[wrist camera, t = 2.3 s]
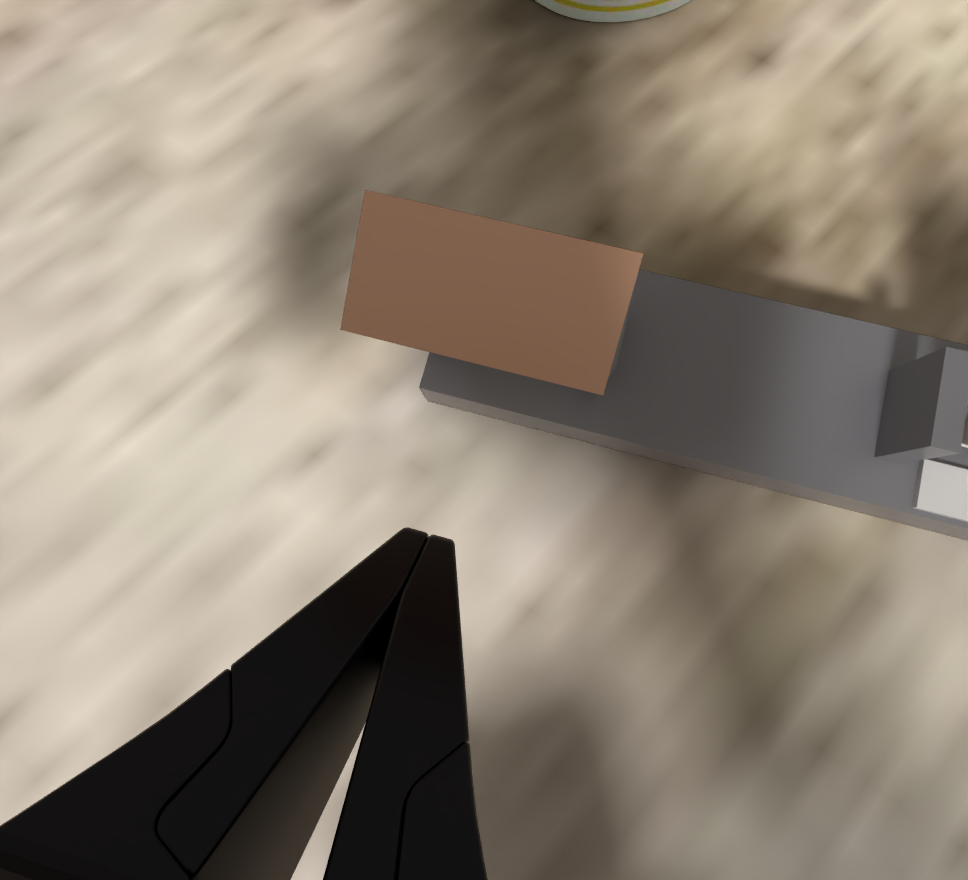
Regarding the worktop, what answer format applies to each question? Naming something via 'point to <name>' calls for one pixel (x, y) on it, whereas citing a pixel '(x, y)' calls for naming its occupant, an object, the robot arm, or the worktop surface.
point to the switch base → (759, 401)
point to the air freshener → (611, 8)
